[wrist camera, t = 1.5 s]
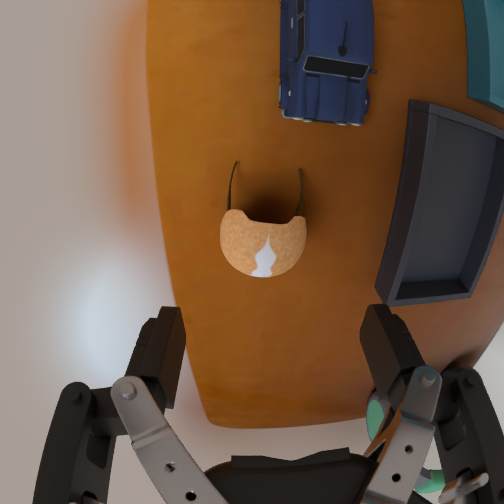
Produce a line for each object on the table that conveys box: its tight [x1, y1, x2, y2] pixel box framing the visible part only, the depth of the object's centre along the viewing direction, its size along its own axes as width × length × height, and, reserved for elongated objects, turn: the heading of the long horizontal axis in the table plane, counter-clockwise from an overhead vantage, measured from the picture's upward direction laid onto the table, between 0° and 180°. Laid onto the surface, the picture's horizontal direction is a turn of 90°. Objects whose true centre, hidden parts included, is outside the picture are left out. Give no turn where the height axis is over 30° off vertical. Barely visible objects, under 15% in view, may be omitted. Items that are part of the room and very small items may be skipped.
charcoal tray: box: [375, 100, 504, 307], centre depth 20 cm, size 18×12×3 cm, turn 0°
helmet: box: [220, 161, 307, 277], centre depth 20 cm, size 6×7×8 cm
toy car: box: [278, 0, 377, 126], centre depth 13 cm, size 6×12×6 cm, turn 179°
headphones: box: [366, 366, 483, 493], centre depth 28 cm, size 19×11×20 cm, turn 92°
